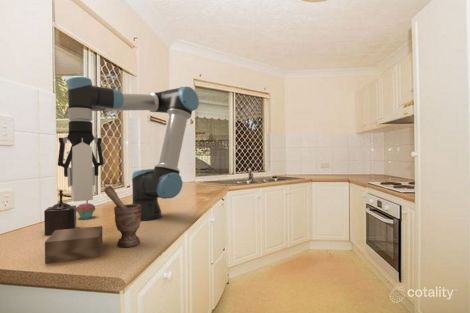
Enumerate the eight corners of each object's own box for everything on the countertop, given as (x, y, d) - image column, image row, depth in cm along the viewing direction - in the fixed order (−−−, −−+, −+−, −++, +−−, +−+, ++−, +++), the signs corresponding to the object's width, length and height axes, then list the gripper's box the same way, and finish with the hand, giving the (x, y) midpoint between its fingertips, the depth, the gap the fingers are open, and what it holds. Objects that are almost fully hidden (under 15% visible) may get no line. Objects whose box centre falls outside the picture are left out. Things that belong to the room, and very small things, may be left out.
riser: (102, 243, 101) (102, 226, 101) (99, 256, 88) (99, 236, 88) (55, 248, 96) (55, 230, 96) (45, 263, 83) (44, 242, 83)
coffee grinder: (43, 236, 111) (42, 188, 111) (48, 229, 121) (47, 185, 121) (88, 231, 117) (88, 186, 117) (90, 225, 127) (89, 184, 127)
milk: (74, 201, 101) (72, 137, 100) (71, 199, 106) (69, 138, 105) (93, 199, 104) (91, 137, 104) (89, 197, 109) (88, 138, 109)
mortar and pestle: (104, 251, 93) (104, 188, 93) (104, 243, 101) (104, 185, 101) (142, 246, 98) (142, 186, 97) (139, 239, 105) (139, 183, 105)
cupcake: (99, 217, 143) (98, 192, 143) (82, 220, 136) (81, 195, 136) (89, 215, 148) (88, 191, 148) (72, 218, 141) (71, 193, 141)
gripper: (111, 123, 112) (112, 183, 112) (50, 121, 104) (51, 186, 105) (110, 120, 105) (111, 185, 105) (45, 119, 97) (46, 188, 98)
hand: (81, 185), depth 105 cm, fingers closed on milk, 7 cm apart
